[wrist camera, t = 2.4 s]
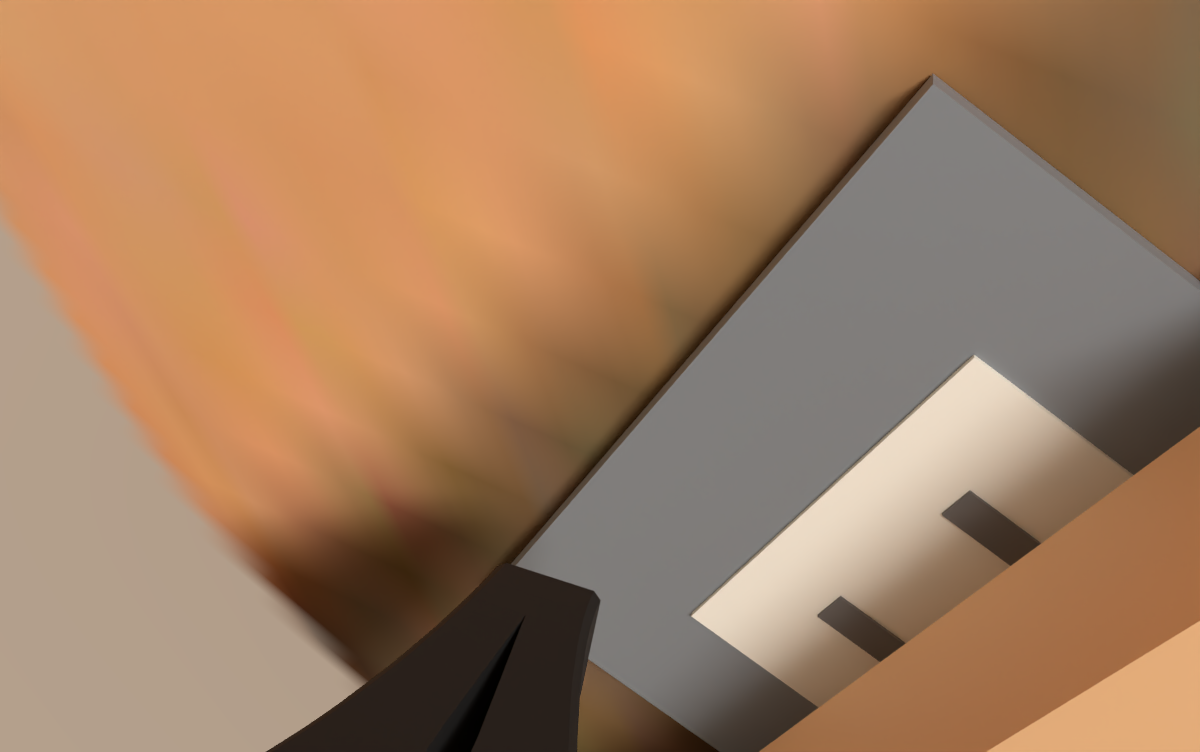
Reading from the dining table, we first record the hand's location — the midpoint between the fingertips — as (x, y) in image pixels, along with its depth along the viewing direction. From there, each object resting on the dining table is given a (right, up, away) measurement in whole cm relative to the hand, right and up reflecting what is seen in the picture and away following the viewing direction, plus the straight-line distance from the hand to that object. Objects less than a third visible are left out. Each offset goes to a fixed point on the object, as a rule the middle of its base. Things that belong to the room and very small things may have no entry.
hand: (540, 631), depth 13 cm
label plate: (+9, -2, +4) cm, 10 cm away
